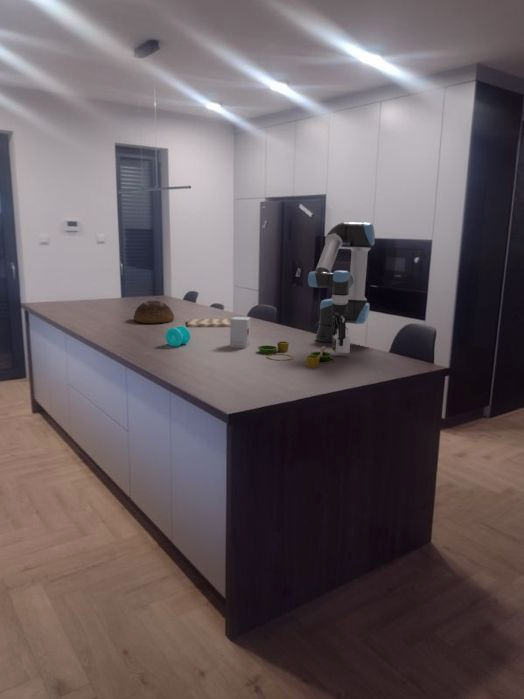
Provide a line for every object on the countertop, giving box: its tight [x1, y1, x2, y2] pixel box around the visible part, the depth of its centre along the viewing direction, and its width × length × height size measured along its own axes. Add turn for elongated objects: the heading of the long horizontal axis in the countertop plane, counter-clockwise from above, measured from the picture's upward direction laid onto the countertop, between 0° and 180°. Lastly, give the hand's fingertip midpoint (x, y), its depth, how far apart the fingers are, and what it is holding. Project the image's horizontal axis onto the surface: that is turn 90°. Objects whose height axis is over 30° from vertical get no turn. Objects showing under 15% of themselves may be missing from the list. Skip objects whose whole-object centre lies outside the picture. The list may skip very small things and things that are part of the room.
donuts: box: [165, 325, 191, 347], centre depth 278 cm, size 10×10×10 cm
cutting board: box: [186, 318, 232, 328], centre depth 344 cm, size 30×20×2 cm, turn 100°
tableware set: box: [257, 340, 335, 368], centre depth 256 cm, size 41×28×6 cm
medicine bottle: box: [331, 327, 351, 354], centre depth 260 cm, size 7×7×12 cm
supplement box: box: [229, 316, 251, 349], centre depth 279 cm, size 9×9×15 cm
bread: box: [133, 300, 175, 324], centre depth 351 cm, size 26×27×13 cm
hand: (337, 350), depth 262 cm, fingers closed on medicine bottle, 7 cm apart
